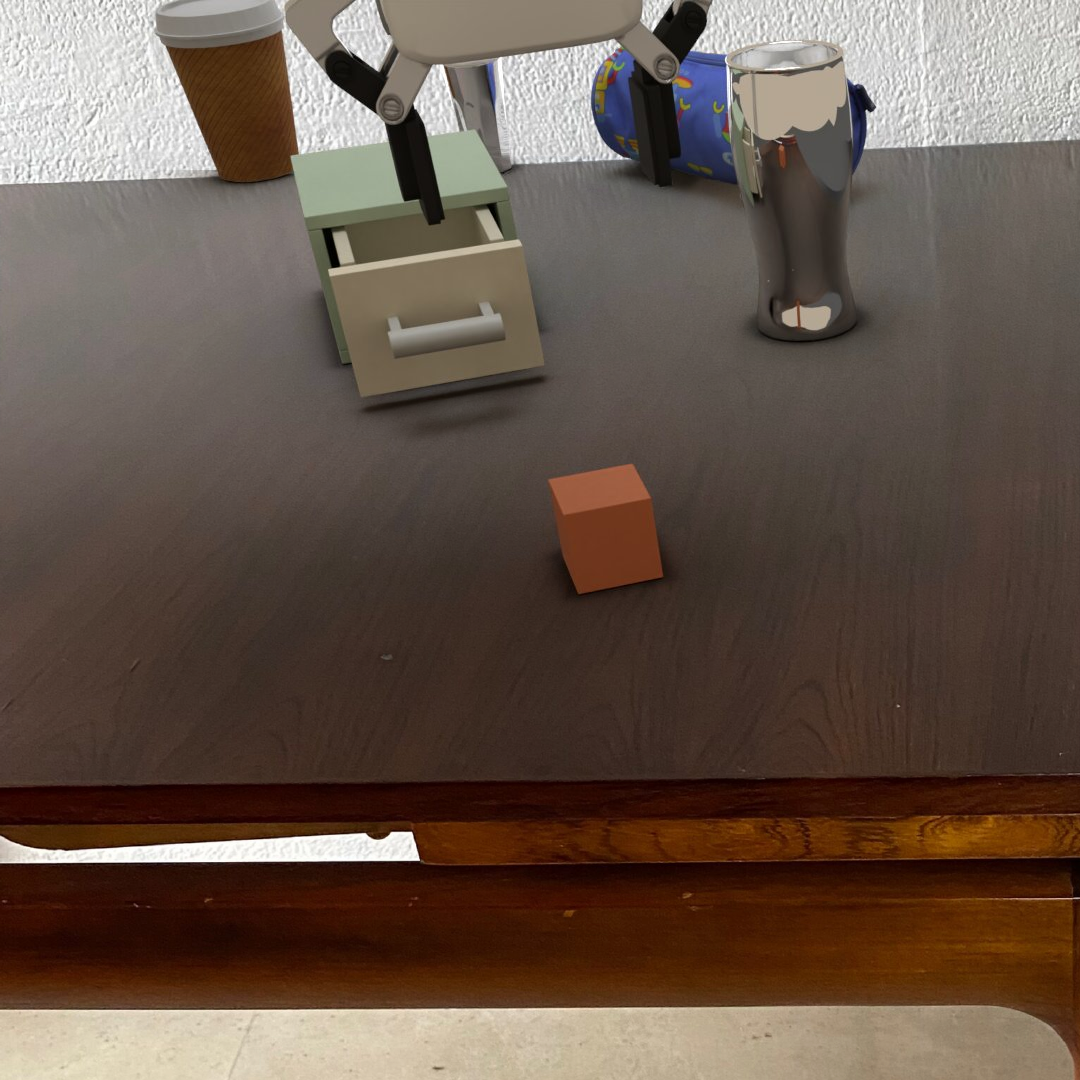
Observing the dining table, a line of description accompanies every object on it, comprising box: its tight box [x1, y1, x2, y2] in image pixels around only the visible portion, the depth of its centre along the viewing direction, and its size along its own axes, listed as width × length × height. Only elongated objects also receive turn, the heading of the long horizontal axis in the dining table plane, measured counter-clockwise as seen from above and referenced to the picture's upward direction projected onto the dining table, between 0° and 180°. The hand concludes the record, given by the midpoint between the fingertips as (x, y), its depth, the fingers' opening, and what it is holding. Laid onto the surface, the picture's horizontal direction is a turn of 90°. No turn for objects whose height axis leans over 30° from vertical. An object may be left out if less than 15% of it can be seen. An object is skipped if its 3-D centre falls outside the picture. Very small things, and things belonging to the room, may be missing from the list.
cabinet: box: [291, 130, 518, 365], centre depth 107 cm, size 14×12×9 cm
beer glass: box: [725, 39, 858, 342], centre depth 100 cm, size 7×7×15 cm
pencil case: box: [590, 45, 877, 186], centre depth 125 cm, size 22×9×10 cm, turn 49°
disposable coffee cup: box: [153, 0, 300, 183], centre depth 133 cm, size 10×10×12 cm
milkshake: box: [439, 57, 512, 174], centre depth 131 cm, size 4×5×10 cm
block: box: [547, 463, 664, 595], centre depth 80 cm, size 4×4×4 cm
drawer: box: [328, 204, 546, 398], centre depth 99 cm, size 17×10×7 cm, turn 19°
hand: (546, 196), depth 73 cm, fingers open, 9 cm apart
